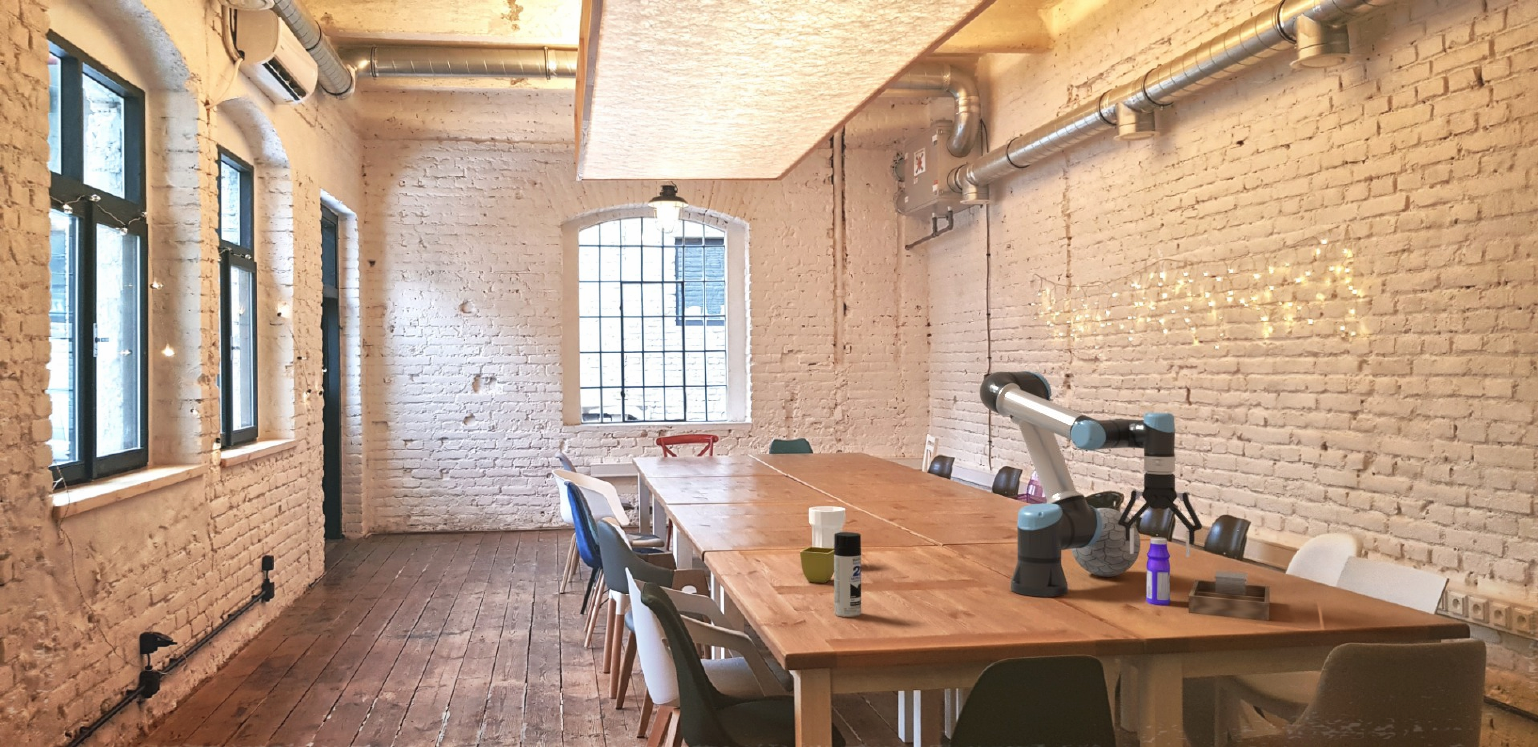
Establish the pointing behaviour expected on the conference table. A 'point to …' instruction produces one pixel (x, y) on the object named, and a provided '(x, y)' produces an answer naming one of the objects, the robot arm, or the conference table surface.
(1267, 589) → the crate
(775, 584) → the conference table surface
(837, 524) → the cup
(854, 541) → the spray can
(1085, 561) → the decorative sphere
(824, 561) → the flower pot
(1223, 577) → the block
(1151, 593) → the bottle
